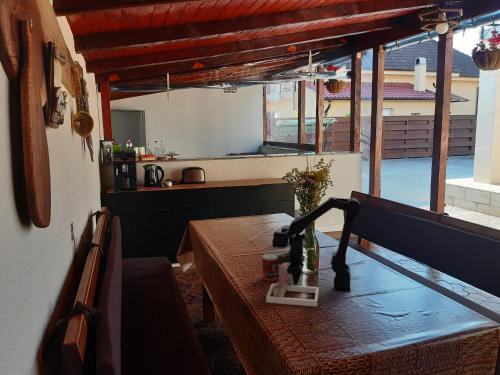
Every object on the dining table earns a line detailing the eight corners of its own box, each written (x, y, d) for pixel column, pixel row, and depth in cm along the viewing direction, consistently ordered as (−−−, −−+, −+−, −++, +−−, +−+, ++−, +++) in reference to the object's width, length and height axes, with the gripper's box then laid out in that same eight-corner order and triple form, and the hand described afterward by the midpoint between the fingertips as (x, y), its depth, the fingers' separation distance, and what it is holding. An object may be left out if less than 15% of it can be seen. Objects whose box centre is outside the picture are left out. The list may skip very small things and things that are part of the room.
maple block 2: (283, 297, 169) (283, 288, 169) (283, 302, 165) (283, 292, 165) (273, 297, 169) (273, 288, 169) (273, 302, 165) (273, 292, 165)
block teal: (301, 283, 184) (301, 274, 183) (300, 287, 179) (300, 277, 179) (291, 282, 185) (291, 273, 184) (290, 286, 180) (290, 277, 180)
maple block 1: (286, 292, 175) (286, 283, 174) (284, 295, 171) (284, 286, 170) (277, 291, 176) (277, 282, 175) (274, 294, 172) (274, 285, 172)
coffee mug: (295, 241, 249) (295, 225, 248) (295, 245, 241) (295, 228, 239) (276, 241, 250) (276, 225, 249) (275, 245, 242) (275, 228, 240)
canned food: (265, 283, 184) (265, 259, 183) (260, 276, 192) (260, 254, 190) (281, 281, 186) (281, 257, 185) (275, 275, 194) (276, 252, 192)
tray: (318, 292, 174) (318, 287, 174) (316, 306, 161) (317, 301, 160) (271, 288, 178) (271, 283, 178) (266, 302, 165) (266, 297, 164)
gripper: (280, 241, 190) (280, 273, 193) (275, 253, 172) (274, 289, 174) (305, 242, 188) (304, 275, 190) (301, 255, 170) (301, 291, 172)
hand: (296, 282), depth 182 cm, fingers closed on block teal, 4 cm apart
